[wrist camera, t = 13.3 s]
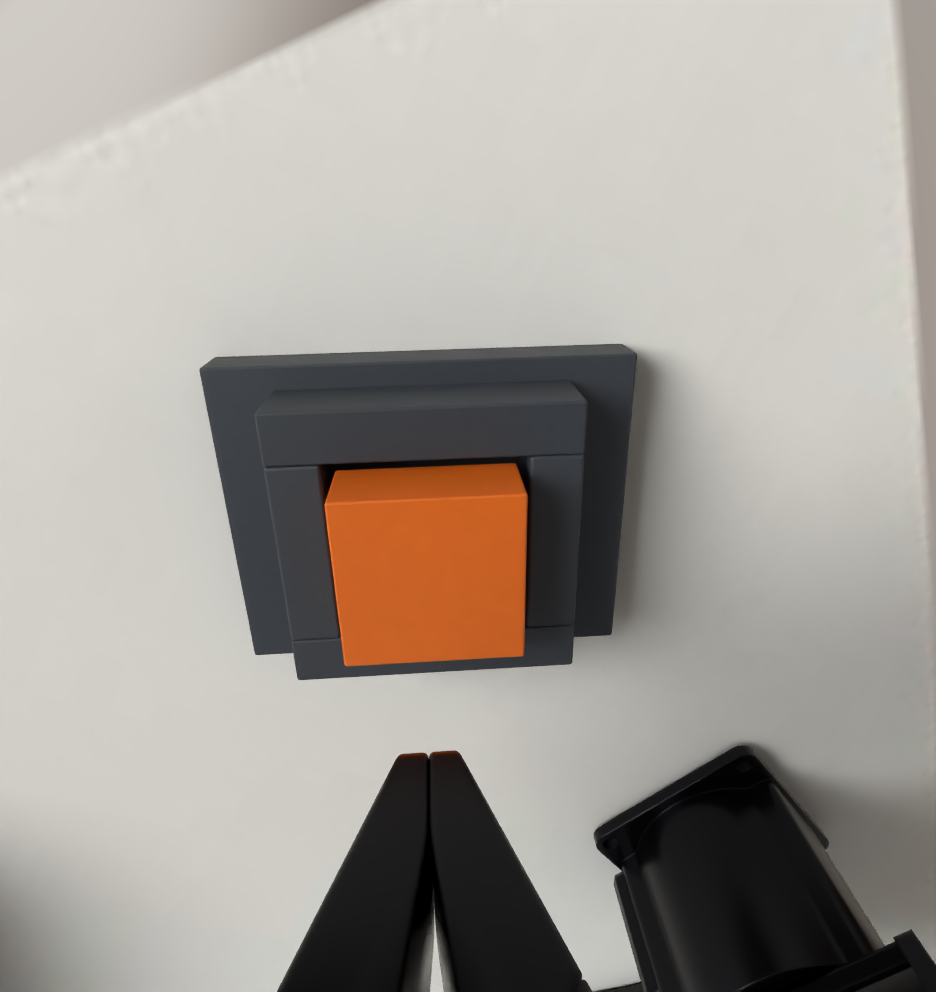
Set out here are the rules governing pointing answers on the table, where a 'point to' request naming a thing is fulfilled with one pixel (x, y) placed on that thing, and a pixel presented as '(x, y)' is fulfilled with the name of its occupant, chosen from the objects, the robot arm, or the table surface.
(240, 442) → the block
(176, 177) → the table surface
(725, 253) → the table surface
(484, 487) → the button
